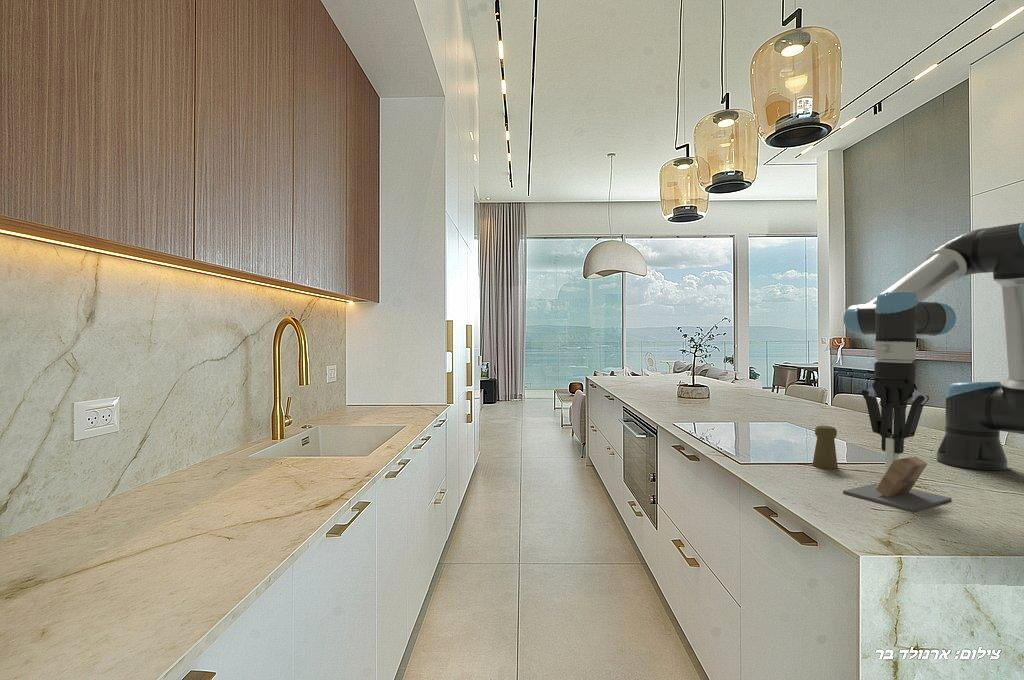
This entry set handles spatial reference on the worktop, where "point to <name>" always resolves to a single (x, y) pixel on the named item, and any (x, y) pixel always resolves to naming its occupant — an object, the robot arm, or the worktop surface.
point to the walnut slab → (900, 476)
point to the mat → (899, 498)
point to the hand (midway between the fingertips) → (891, 467)
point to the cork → (825, 448)
